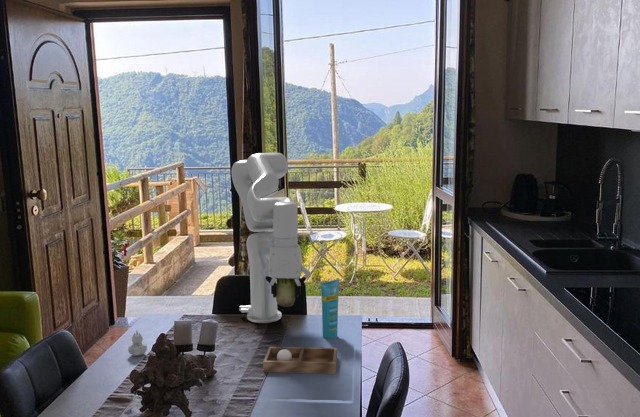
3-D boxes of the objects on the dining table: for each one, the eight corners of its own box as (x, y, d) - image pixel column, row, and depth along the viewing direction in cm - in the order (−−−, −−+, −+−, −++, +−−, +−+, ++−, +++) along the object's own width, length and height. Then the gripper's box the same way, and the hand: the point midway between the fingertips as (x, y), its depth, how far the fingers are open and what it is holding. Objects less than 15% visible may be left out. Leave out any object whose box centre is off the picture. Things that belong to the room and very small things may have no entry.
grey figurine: (148, 350, 174) (147, 326, 173) (146, 359, 167) (144, 334, 166) (130, 352, 173) (128, 327, 172) (127, 360, 166) (125, 335, 165)
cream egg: (275, 367, 159) (275, 352, 159) (278, 360, 164) (277, 346, 163) (291, 367, 159) (290, 353, 158) (293, 361, 163) (292, 346, 163)
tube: (327, 342, 179) (326, 284, 176) (317, 337, 182) (316, 281, 179) (343, 335, 184) (343, 279, 181) (332, 331, 187) (332, 276, 184)
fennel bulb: (297, 305, 176) (297, 269, 173) (288, 310, 172) (287, 273, 169) (283, 301, 179) (282, 266, 177) (273, 306, 175) (273, 269, 173)
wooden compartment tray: (263, 373, 157) (263, 361, 156) (269, 357, 167) (269, 346, 167) (335, 375, 155) (335, 363, 155) (337, 359, 166) (337, 348, 165)
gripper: (255, 243, 168) (256, 299, 172) (312, 245, 167) (312, 301, 170) (260, 237, 176) (261, 291, 179) (314, 239, 174) (314, 293, 178)
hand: (285, 296), depth 175 cm, fingers closed on fennel bulb, 6 cm apart
